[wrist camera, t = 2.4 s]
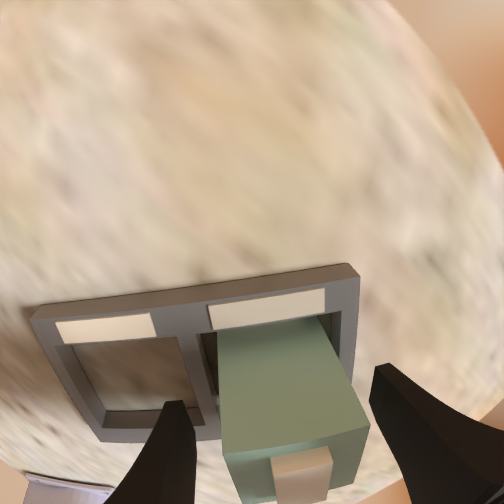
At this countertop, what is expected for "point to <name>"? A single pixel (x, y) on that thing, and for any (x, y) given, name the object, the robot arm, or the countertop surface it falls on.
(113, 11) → the countertop surface
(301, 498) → the plug
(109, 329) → the dock
